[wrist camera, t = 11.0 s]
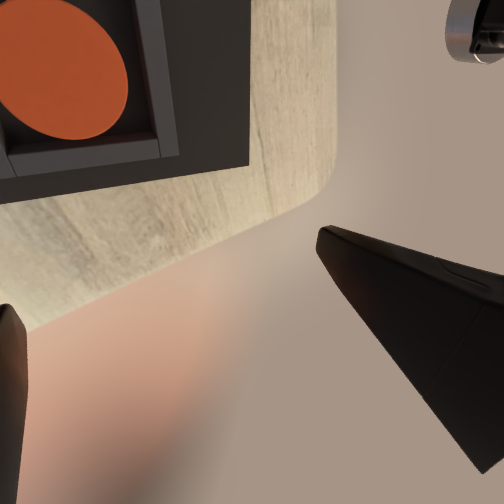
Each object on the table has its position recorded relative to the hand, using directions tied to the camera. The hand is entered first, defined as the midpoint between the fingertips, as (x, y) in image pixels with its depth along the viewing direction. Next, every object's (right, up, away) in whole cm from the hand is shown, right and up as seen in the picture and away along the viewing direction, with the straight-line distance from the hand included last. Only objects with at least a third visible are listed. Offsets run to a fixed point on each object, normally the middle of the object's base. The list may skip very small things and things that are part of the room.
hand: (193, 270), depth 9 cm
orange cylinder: (-6, +9, +4) cm, 12 cm away
